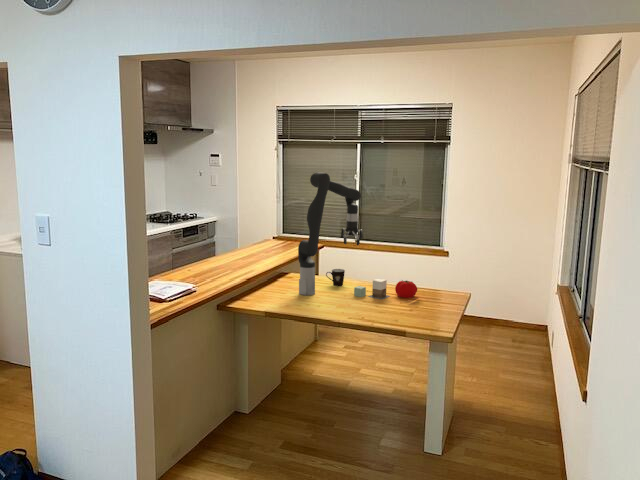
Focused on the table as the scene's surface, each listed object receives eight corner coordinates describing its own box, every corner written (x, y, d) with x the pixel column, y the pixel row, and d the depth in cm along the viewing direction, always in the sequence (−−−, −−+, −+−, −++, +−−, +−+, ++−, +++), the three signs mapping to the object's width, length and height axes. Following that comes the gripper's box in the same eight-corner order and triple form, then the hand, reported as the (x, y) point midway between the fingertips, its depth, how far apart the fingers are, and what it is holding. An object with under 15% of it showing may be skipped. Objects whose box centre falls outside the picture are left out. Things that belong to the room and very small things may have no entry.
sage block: (360, 298, 320) (361, 288, 319) (354, 297, 323) (354, 287, 322) (365, 296, 323) (365, 287, 322) (358, 295, 327) (359, 285, 326)
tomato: (391, 298, 320) (392, 281, 318) (398, 293, 331) (399, 277, 329) (413, 301, 314) (413, 283, 312) (419, 296, 325) (420, 279, 323)
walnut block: (380, 298, 317) (380, 290, 316) (372, 296, 321) (372, 288, 320) (386, 296, 322) (386, 288, 321) (377, 294, 325) (378, 286, 325)
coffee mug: (347, 284, 352) (347, 269, 351) (340, 287, 345) (340, 272, 344) (331, 282, 358) (332, 267, 357) (325, 284, 351) (325, 270, 350)
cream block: (380, 290, 316) (381, 281, 315) (372, 288, 320) (372, 280, 319) (386, 288, 321) (386, 280, 320) (378, 286, 325) (378, 278, 324)
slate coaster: (381, 300, 314) (381, 299, 314) (367, 297, 321) (367, 296, 321) (390, 297, 322) (390, 296, 322) (376, 294, 328) (376, 293, 328)
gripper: (340, 220, 348) (339, 244, 351) (360, 221, 343) (360, 246, 345) (343, 219, 355) (343, 243, 357) (364, 220, 350) (363, 244, 352)
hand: (351, 244), depth 351 cm, fingers open, 8 cm apart
